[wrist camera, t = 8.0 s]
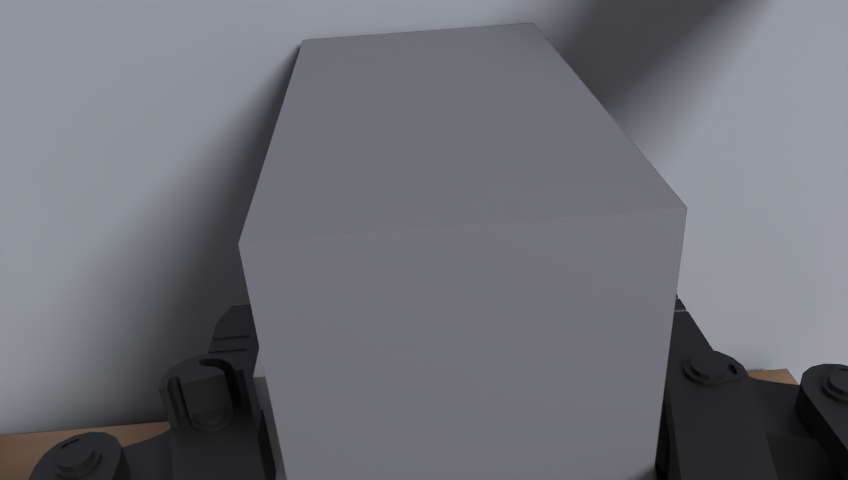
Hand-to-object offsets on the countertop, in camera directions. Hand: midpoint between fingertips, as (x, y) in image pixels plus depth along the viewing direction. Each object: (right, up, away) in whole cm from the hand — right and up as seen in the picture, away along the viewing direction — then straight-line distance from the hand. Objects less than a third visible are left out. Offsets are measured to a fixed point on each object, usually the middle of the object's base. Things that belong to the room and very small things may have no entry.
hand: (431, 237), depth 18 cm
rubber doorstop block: (0, 0, 0) cm, 0 cm away
